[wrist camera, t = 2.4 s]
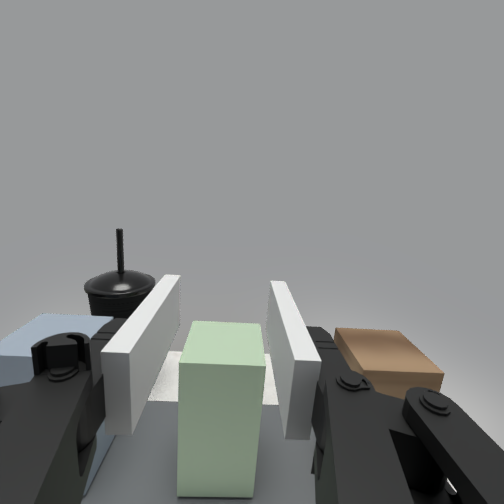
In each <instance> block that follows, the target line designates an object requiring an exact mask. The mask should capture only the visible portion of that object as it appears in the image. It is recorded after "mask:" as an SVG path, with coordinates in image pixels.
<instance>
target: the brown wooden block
mask: <svg viewBox="0 0 504 504" xmlns="http://www.w3.org/2000/svg"><path fill="white" fill-rule="evenodd" d="M334 343H335V344H336V345H337V347H338V350H340V352H341V354H342V355H343V357H344V359H345V360H346V362H347V364H348V365H349V367H350V369H351V370H352V371H356V372H358V373H359V374H361V375H363V376H365V377H366V378H367V379H368V380H369V381H370V382H371V383H372V385H373V386H374V388H375V391H376V392H379V393H382V394H385V395H389V396H393V397H397V398H400V399H405V395H406V391H407V390H408V389H410V388H412V387H423V388H429V389H432V390H435V391H437V392H440V388H441V384H442V381H443V377H444V372H443V371H441V370H440V369H439V368H438V367H437V366H436V365H435V364H434V363H433V362H432V361H431V360H430V359H428V358H427V357H426V356H425V355H424V354H423V353H422V352H421V351H420V350H419V349H418V348H417V347H416V346H414V345H413V344H412V343H411V342H410V341H409V340H408V339H407V338H406V337H405V336H404V335H402V333H400V332H399V331H393V330H372V329H352V328H336V329H335V335H334Z"/></svg>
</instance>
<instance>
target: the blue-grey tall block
mask: <svg viewBox="0 0 504 504" xmlns="http://www.w3.org/2000/svg"><path fill="white" fill-rule="evenodd" d="M111 320H113V317H107V316H87V315H65V314H46V313H42V314H41V315H39V316H38V317H36V318H35V319H33V320H32V321H30V322H28V323H27V324H25V325H24V326H23V327H21V328H19V329H18V330H16V331H15V332H13V333H12V334H10V335H9V336H7V337H5V338H4V339H3V340H1V341H0V387H2V386H8V385H15V384H21V383H26V382H30V381H31V379H32V378H33V377H34V370H33V362H32V354H31V347H32V346H33V345H34V344H35V343H37V342H38V341H40V340H42V339H44V338H46V337H49V336H53V335H56V334H60V333H67V332H80V333H83V334H86V335H87V336H88V337H89V338H90V339H91V337H92V336H93V335H94V334H95V333H97V331H98V330H99V329H100V328H101V327H102V326H103V325H104V324H106V323H108V322H109V321H111ZM96 435H97V448H96V452H95V455H94V459H93V462H92V466H91V469H90V473H89V476H88V480H87V483H86V487H85V490H84V494H83V495H85V494H86V492H87V490H88V488H89V486H90V484H91V482H92V480H93V478H94V476H95V474H96V472H97V470H98V468H99V466H100V464H101V462H102V460H103V458H104V456H105V454H106V452H107V450H108V448H109V447H110V445H111V443H112V441H113V439H114V437H115V435H105V420H104V421H103V422H102V424H101V426H100V428H99V429H98V431H97V433H96Z"/></svg>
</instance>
